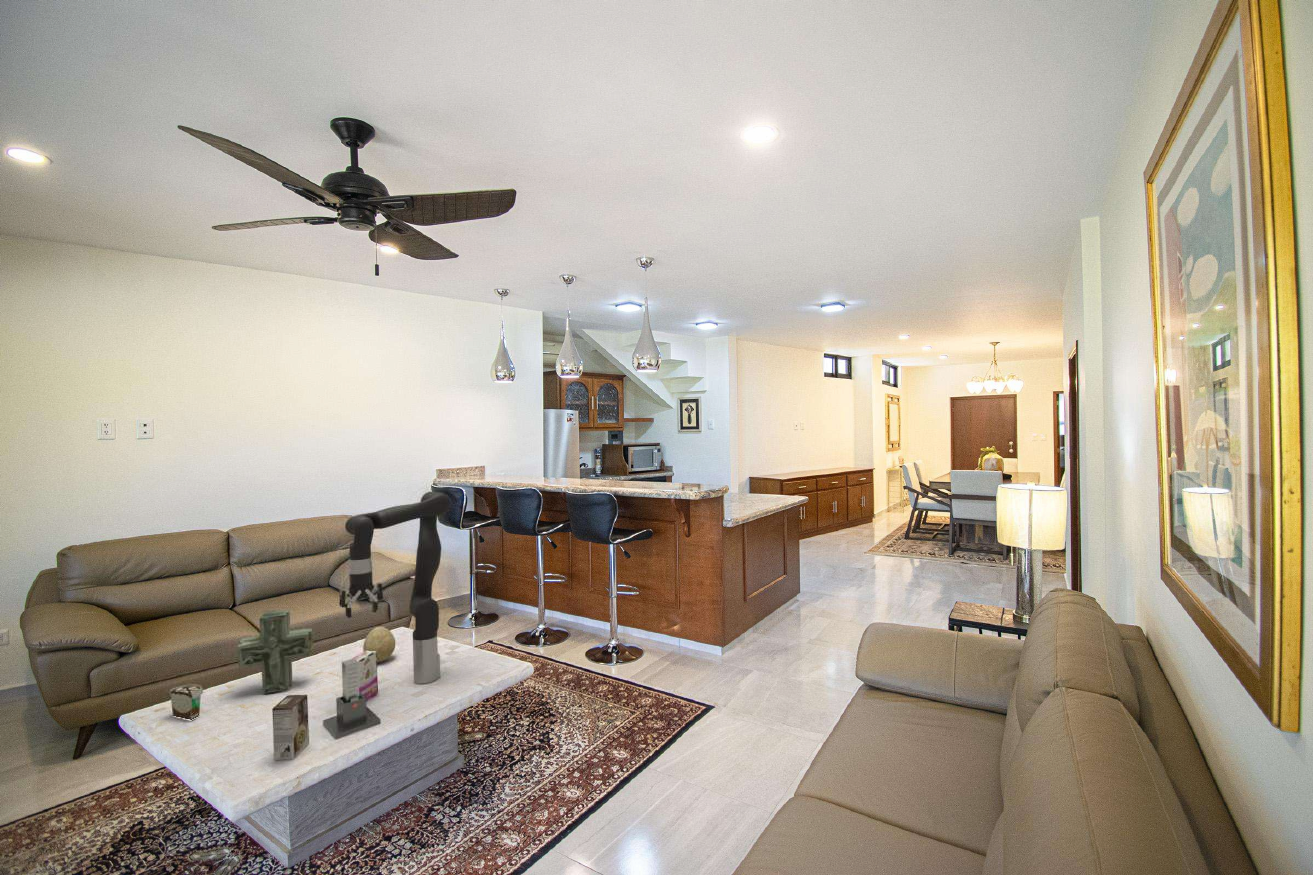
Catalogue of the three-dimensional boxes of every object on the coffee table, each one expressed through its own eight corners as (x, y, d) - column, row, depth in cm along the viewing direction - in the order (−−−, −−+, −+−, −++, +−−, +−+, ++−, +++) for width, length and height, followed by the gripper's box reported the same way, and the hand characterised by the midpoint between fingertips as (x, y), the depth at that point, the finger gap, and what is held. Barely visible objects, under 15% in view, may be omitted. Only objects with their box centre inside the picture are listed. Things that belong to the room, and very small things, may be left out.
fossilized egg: (370, 656, 261) (369, 623, 261) (399, 654, 262) (398, 621, 262) (358, 667, 248) (357, 632, 248) (390, 665, 249) (389, 631, 249)
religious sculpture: (237, 701, 219) (235, 621, 219) (244, 689, 229) (242, 613, 229) (311, 688, 229) (308, 612, 228) (314, 677, 239) (312, 604, 239)
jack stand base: (366, 709, 210) (365, 682, 210) (380, 723, 200) (379, 694, 200) (323, 724, 200) (322, 695, 200) (335, 739, 190) (334, 708, 190)
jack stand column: (355, 702, 203) (354, 658, 203) (360, 706, 200) (359, 661, 199) (342, 706, 200) (341, 661, 200) (346, 710, 197) (345, 665, 196)
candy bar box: (367, 692, 224) (365, 649, 224) (378, 693, 223) (377, 650, 223) (346, 705, 213) (344, 661, 213) (358, 706, 212) (356, 662, 212)
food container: (212, 713, 210) (211, 685, 210) (193, 721, 204) (192, 693, 204) (188, 708, 214) (187, 681, 214) (170, 716, 208) (169, 688, 208)
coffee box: (288, 744, 187) (287, 694, 187) (309, 743, 188) (308, 693, 188) (272, 760, 178) (271, 708, 178) (294, 759, 179) (293, 706, 178)
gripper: (377, 565, 221) (378, 608, 221) (336, 572, 211) (337, 617, 211) (384, 568, 216) (386, 612, 216) (342, 576, 206) (344, 621, 206)
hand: (362, 614), depth 214 cm, fingers open, 8 cm apart
